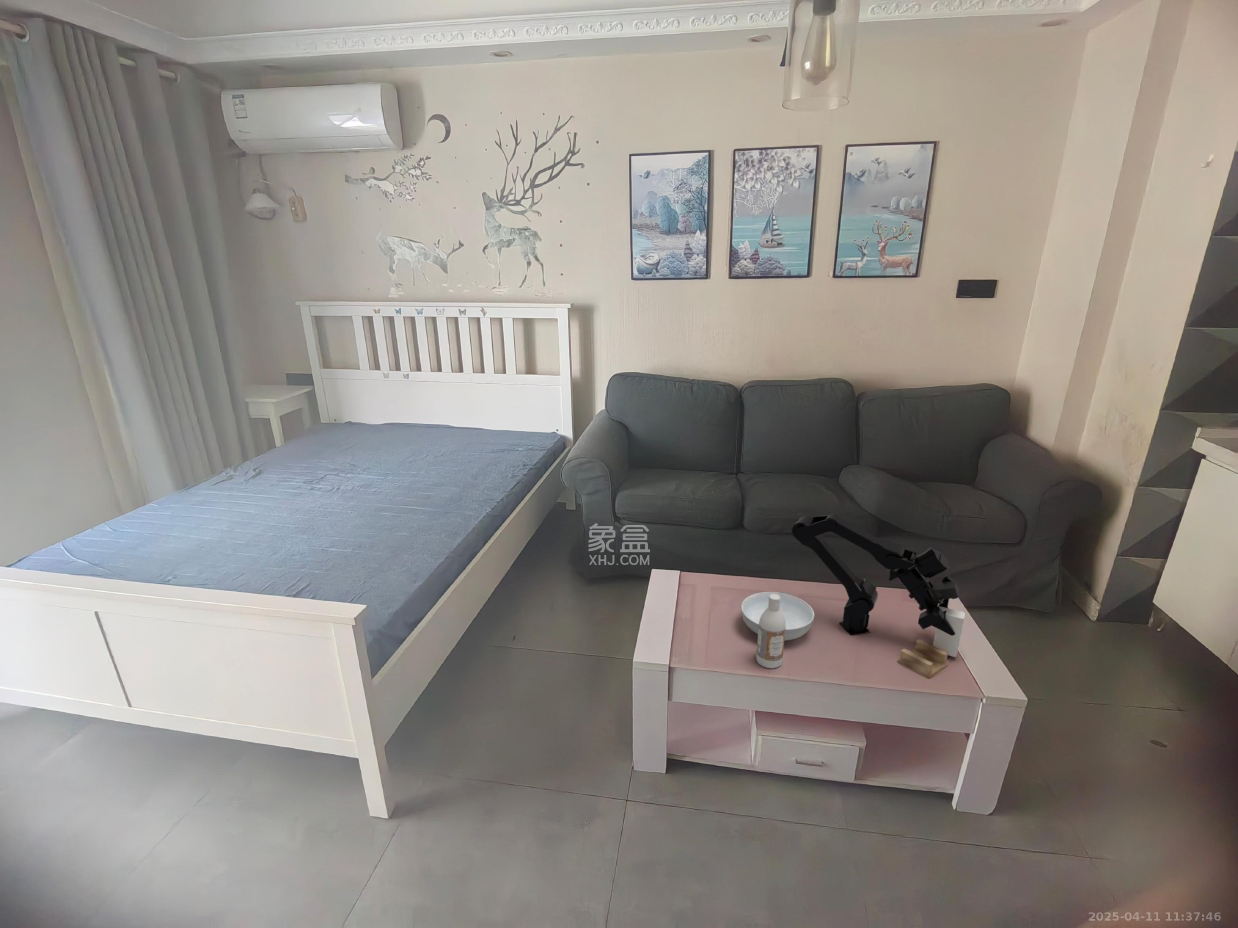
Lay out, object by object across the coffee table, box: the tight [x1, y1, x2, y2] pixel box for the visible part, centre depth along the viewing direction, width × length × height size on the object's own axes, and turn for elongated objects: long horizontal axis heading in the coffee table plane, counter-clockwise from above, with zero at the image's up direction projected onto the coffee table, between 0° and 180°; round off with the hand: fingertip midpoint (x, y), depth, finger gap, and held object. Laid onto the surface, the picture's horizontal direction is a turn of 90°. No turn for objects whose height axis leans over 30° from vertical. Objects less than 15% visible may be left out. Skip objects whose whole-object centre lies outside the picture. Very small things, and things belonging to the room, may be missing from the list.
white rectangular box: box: [932, 606, 966, 658], centre depth 168 cm, size 6×4×12 cm, turn 58°
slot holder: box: [896, 639, 949, 679], centre depth 166 cm, size 9×9×4 cm
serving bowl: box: [740, 591, 815, 641], centre depth 181 cm, size 21×21×7 cm
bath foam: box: [755, 594, 786, 669], centre depth 164 cm, size 7×7×20 cm
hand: (954, 631), depth 168 cm, fingers closed on white rectangular box, 4 cm apart
